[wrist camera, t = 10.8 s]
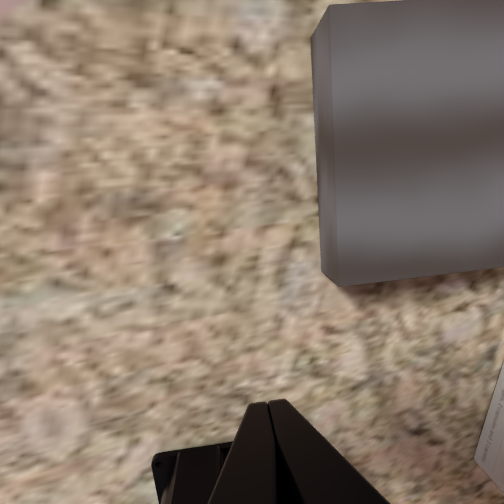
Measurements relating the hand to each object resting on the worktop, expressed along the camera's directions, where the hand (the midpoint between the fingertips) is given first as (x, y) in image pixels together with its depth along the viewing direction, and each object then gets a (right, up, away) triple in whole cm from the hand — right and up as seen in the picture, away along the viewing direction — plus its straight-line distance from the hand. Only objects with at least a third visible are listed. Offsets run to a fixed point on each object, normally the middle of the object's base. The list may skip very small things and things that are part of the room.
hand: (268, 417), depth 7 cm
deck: (+9, +9, +11) cm, 17 cm away
